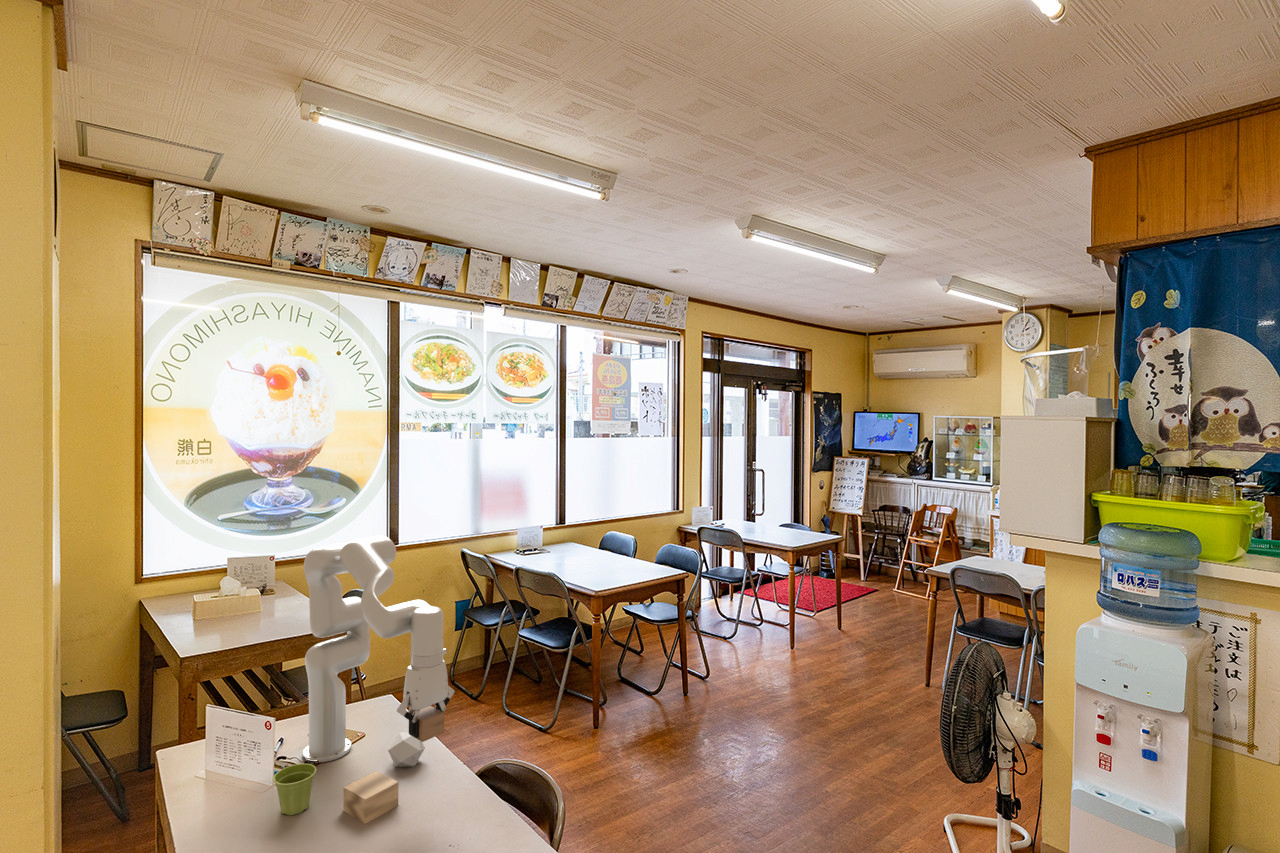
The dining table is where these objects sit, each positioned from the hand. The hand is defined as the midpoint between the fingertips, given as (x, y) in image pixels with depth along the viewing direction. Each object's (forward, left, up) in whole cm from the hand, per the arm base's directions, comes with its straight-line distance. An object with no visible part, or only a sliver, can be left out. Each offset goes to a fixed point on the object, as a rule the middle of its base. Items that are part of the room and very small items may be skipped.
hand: (426, 730), depth 162 cm
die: (-22, +8, -19) cm, 30 cm away
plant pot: (-24, -21, -19) cm, 37 cm away
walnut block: (0, 0, -1) cm, 1 cm away
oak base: (-10, -9, -19) cm, 23 cm away
